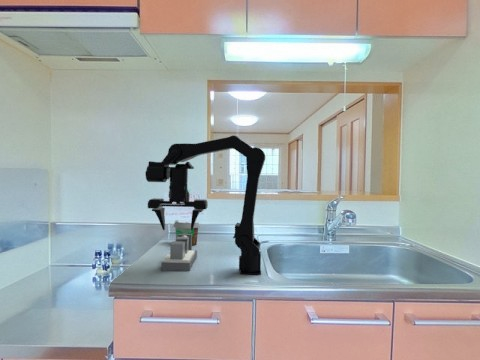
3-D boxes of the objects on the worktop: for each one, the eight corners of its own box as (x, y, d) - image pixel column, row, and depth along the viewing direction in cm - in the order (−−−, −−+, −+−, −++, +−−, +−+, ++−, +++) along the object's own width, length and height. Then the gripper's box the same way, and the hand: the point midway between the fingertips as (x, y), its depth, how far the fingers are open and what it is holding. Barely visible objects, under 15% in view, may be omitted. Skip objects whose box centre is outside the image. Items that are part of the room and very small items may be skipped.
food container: (167, 244, 140) (167, 221, 139) (176, 242, 145) (176, 220, 145) (190, 248, 134) (191, 224, 134) (199, 245, 139) (199, 222, 139)
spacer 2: (184, 256, 109) (185, 241, 109) (182, 259, 105) (182, 244, 105) (173, 256, 109) (173, 241, 109) (170, 259, 105) (170, 243, 105)
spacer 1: (188, 250, 117) (188, 237, 116) (186, 253, 113) (187, 239, 112) (177, 250, 117) (177, 236, 116) (175, 253, 113) (175, 239, 112)
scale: (197, 256, 121) (197, 234, 121) (189, 270, 104) (190, 244, 104) (172, 256, 121) (173, 233, 121) (161, 270, 104) (161, 243, 104)
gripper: (209, 182, 114) (208, 226, 115) (156, 181, 114) (156, 225, 115) (206, 183, 103) (205, 232, 104) (147, 182, 103) (146, 231, 104)
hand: (177, 230), depth 107 cm, fingers open, 9 cm apart
